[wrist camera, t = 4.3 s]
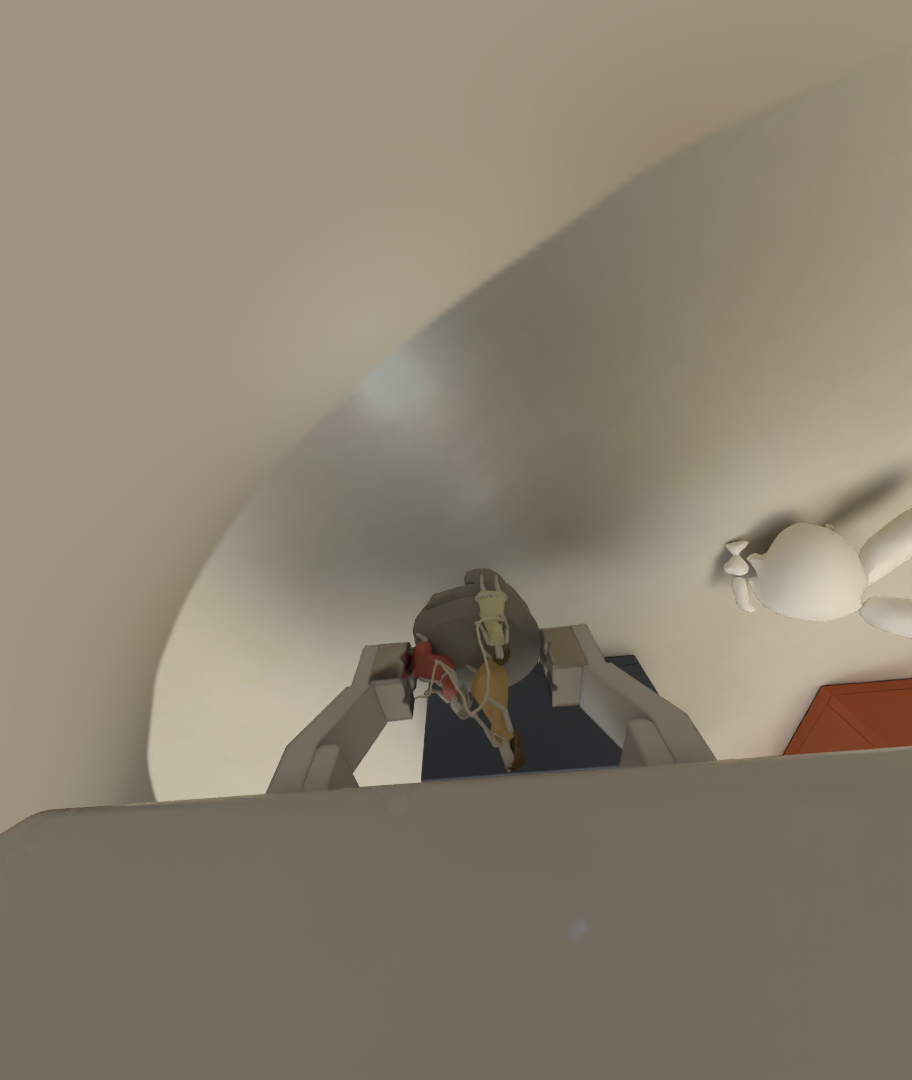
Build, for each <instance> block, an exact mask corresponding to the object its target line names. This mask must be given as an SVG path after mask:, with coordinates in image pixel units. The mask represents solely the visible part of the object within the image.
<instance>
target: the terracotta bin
mask: <svg viewBox="0 0 912 1080" xmlns="http://www.w3.org/2000/svg"><path fill="white" fill-rule="evenodd" d="M904 746H912V679H905V680H893V681H881V682H869V683H857V684H844V685H832V686H822V687H821V689H820V691H819V693H818V695H817V696H816V698H815V700H814V702H813V703H812V705H811V707H810V709H809V711H808V712H807V714H806V716H805V718H804V719H803V721H802V723H801V725H800V726H799V728H798V730H797V732H796V734H795V735H794V737H793V739H792V741H791V742H790V744H789V746H788V748H787V750H786V751H785V753H784V755H797V754H810V753H823V752H837V751H850V750H864V749H877V748H890V747H904Z"/></svg>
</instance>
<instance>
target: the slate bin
mask: <svg viewBox="0 0 912 1080" xmlns="http://www.w3.org/2000/svg"><path fill="white" fill-rule="evenodd" d="M604 659H605V661H606V663H613V664H614V665H615V666H617V667H618V668H620V669H621V670H623V671H624V672H626V673H627V674H629V675H630V676H632V677H633V678H635V679H636V680H638V681H639V682H640V683H642V684H643V685H645V686H646V687H648V688H649V689H651V690H652V691H654V692H655V693H657V694H658V692H657V691H656V689H655V687H654V686H653V684H652V683H651V681H650V680H649V678H648V676H647V675H646V673H645V672H644V670H643V668H642V667H641V665H640V664H639V662H638V660H637V659H636V657H635V656H634V655H633V656H622V657H611V658H604ZM430 684H431V682H429V688H428V689H430ZM432 689H437V690H440V691H442V688H441V687H440V686H438V685H437V684H435V683H434V682H433V685H432ZM468 693H469V697H470V698H471V699H470V702H471V701H472V705H471V707H470V709H471V712H472V711H474V710H476V709H477V708H478V707H479V706H480V705H479V704H478V702H477V701H476V699H475V698H474V696H473V695H472V693H471V692H468ZM658 695H659V694H658ZM507 710H508V713H509V716H510V720H511V723H512V727H513V734H514V727H515V729H516V733H517V737H518V729H519V734H521V732H522V737H523V738H521V746H522V740H523V756H524V754H525V752H526V756H525V759H526V758H527V759H526V760H524V761H525V762H524V764H523V765H522V766H521V767H520V768H519V769H518V770H517V771H516V772H512V771H510V772H507V770H506V768H505V766H504V765H505V764H504V761H503V760H502V759H503V758H502V756H501V753H500V749H499V748H498V747H493V745H492V744H491V742H490V740H489V739H488V737H487V735H486V733H485V732H484V728H483V727H482V726H481V725H480V724H479V723H478V722H477V721H476V719H475V718H472V717H470V716H469V717H468V718H467V719H464V720H463V719H461V718H459V717H458V716H457V714H456V713H455V712H454V711H453V709H452V708H451V705H450V703H446V702H445V701H444V700H443V699H442V698H441V697H440V696H439V695H438V694H437V693H431V694H430V695H429V696H428V700H427V712H426V724H425V737H424V749H423V761H422V774H421V781H422V782H434V781H448V780H461V779H474V778H488V777H501V776H514V775H528V774H541V773H555V772H568V771H581V770H595V769H608V768H619V765H620V760H621V755H622V749H621V748H620V747H619V746H618V745H617V744H616V743H615V742H614V741H613V740H612V739H611V738H610V737H609V736H608V735H607V734H606V733H605V732H604V731H603V730H602V729H601V728H600V727H599V726H598V725H597V724H596V723H595V722H594V721H593V720H592V719H591V718H590V717H589V716H588V714H587V713H586V712H585V711H584V710H583V709H582V708H581V707H580V705H578V706H560V707H552V704H551V700H550V697H549V693H548V690H547V679H546V678H545V677H544V676H543V672H542V668H541V664H536V665H535V666H534V668H533V669H532V670H531V672H530V673H529V674H528V675H527V676H526V677H524V678H523V679H522V680H520V681H519V682H517V683H515V684H513V685H511V686H509V687H508V707H507ZM476 714H478V717H479V718H480V719H481V720H482V721H483V722H484V724H485V725H486V727H487V728H489V730H490V731H491V725H492V724H491V722H490V721H489V719H488V718H487V716H486V715H485V713H484V711H483V710H482V708H481V709H480V710H479V711H478V712H477V713H476ZM513 724H514V726H513ZM520 737H521V735H520ZM526 749H527V751H526ZM512 750H513V749H512ZM523 756H522V757H523Z"/></svg>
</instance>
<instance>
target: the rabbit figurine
mask: <svg viewBox="0 0 912 1080" xmlns="http://www.w3.org/2000/svg"><path fill="white" fill-rule="evenodd" d="M834 528H835V526H832V525H829V524H825V527H822V526H819V525H816V524H810V523H797V524H794V525H792V526H789V527H787V528H786V529H784V530H783V531H782V532H780V533H779V534H778V536H777V537H776V538H775V540H774V541H773V542H772V544H771V546H770V548H769V550H768V551H767V553H765V554H763V555H760V554H757V553H754V554H751V555H750V556H749V557H748V558H747V559H746V560H748V561H749V562H750V563H751V564H752V566H753V567H754V568H755V570H756V573H757V576H756V577H751V578H750V579H749V582H750V584H751V585H752V587H753V590H754V593H755V595H756V597H757V599H758V600H759V601H760V603H761V604H762V605H763V606H764V607H765V608H767V609H769V610H771V611H773V612H774V613H776V614H779V615H783V616H787V617H790V618H794V619H800V620H809V621H830V620H835V619H840V618H843V617H844V616H846V615H848V614H851V613H853V612H855V611H857V610H859V615H860V616H861V617H862V618H863V619H864V620H865V621H866V622H867V623H869V624H870V625H872V626H873V627H876V628H879V629H881V630H883V631H886V632H889V633H893V634H896V635H900V636H903V637H907V638H911V639H912V600H909V599H902V598H891V597H879V596H875V597H872V598H868V600H867V601H866V602H864V603H862V601H861V599H860V597H861V595H862V593H863V592H864V589H865V588H867V587H868V586H870V585H872V584H873V583H874V582H876V581H877V580H879V579H881V578H883V577H884V576H886V575H887V574H888V573H890V572H891V571H892V570H894V569H895V568H896V567H898V566H899V565H901V564H902V563H903V562H905V561H907V560H908V559H910V558H911V557H912V508H911V509H909V510H907V511H905V512H904V513H902V514H900V515H899V516H898V517H896V518H895V519H893V520H892V521H890V522H889V523H888V524H886V525H885V526H884V527H882V528H881V529H880V530H879V531H878V532H876V533H875V534H874V535H873V536H872V537H871V538H870V539H868V541H867V542H866V543H865V545H864V546H863V547H862V548H861V550H860V554H859V557H858V555H857V553H856V551H855V550H854V549H853V548H852V547H851V545H850V544H849V543H848V542H847V541H846V540H845V539H844V538H843V537H841V536H840V535H839V534H837V533H835V532H833V530H834ZM748 543H749V542H747V541H738V542H732V543H728V544H726V545H725V547H726V548H727V549H728V550H729V551H730V552H731V553H732V554H733V556H732V557H731V559H730V560H729V561H728V562H727V563H726V564H725V565H724V570H725V572H727V573H730V574H734V575H738V576H742V575H745V574H746V573H747V572H748V568H749V567H748V565H747V563H746V562H745V561H744V560H743V559H742V558H741V556H740V554H739V553H740V552H741V551H742V550H743V549H744V548H745V547H746V546H747V544H748ZM732 587H733V592H734V595H735V600H736V604H737V605H738V606H739V607H740V608H741V609H742V610H746V611H748V612H754V611H756V610H755V608H753V607H752V606H751V604H750V600H749V596H748V591H747V584H746V581H745V579H744V578H742V577H736V578H735V579H734V580H733V581H732Z"/></svg>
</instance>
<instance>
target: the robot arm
mask: <svg viewBox="0 0 912 1080" xmlns="http://www.w3.org/2000/svg"><path fill="white" fill-rule="evenodd" d="M539 640H540V643H541V646H542V647H541V648H540V656H539V657H540V664H541V668H542V672H543V676H544V677H545V678H546V679H547V690H548V693H549V697H550V700H551V704H552V707H560V706H578V705H580V707H581V708H582V709H583V710H584V711H585V712H586V713H587V714H588V716H589V717H590V718H591V719H592V720H593V721H594V722H595V723H596V724H597V725H598V726H599V727H600V728H601V729H602V730H603V731H604V732H605V733H606V734H607V735H608V736H609V737H610V738H611V739H612V740H613V741H614V742H615V743H616V744H617V745H618V746H619V747H620V748H621V749H622V755H621V760H620V765H619V768H608V769H595V770H581V771H568V772H555V773H541V774H528V775H514V776H501V777H488V778H474V779H461V780H448V781H434V782H421V783H408V784H394V785H381V786H367V787H359V785H358V783H357V781H356V779H355V777H354V775H353V772H354V771H355V769H356V768H357V766H358V765H359V763H360V762H361V760H362V759H363V758H364V756H365V755H366V753H367V752H368V750H369V749H370V747H371V746H372V744H373V743H374V741H375V740H376V739H377V737H378V736H379V734H380V733H381V731H382V730H383V728H384V727H385V725H386V724H387V723H386V722H389V721H398V720H407V719H412V718H413V710H414V701H415V699H414V696H413V691H414V690H415V689H416V683H417V678H416V677H412V672H411V654H412V648H411V645H410V643H409V642H403V643H389V644H380V645H366V646H365V647H364V649H363V650H362V654H361V657H360V660H359V663H358V666H357V669H356V672H355V676H354V679H353V682H352V685H351V686H350V687H346V688H345V689H344V690H343V691H342V692H341V693H340V694H339V695H338V696H337V697H336V698H335V699H334V700H333V701H332V702H331V703H330V704H329V705H328V706H327V707H326V708H325V709H324V710H323V711H322V712H321V713H320V714H319V715H318V716H317V717H316V718H315V719H314V720H313V721H312V722H311V723H310V724H309V725H308V726H307V727H306V728H304V729H303V730H302V731H301V732H300V733H299V734H298V735H297V736H296V737H295V738H294V739H293V740H292V741H291V742H290V743H289V744H288V745H287V746H286V748H285V751H284V753H283V755H282V757H281V760H280V762H279V764H278V767H277V769H276V771H275V773H274V776H273V778H272V780H271V782H270V785H269V787H268V789H267V792H266V794H259V795H245V796H232V797H218V798H204V799H191V800H177V801H164V802H150V803H137V804H123V805H110V806H97V807H83V808H65V809H53V810H46V811H42V812H39V813H36V814H34V815H32V816H29V817H27V818H26V819H24V820H23V821H21V822H19V823H17V824H16V825H14V826H13V827H11V828H9V829H8V830H6V831H5V832H3V833H1V834H0V1080H912V746H904V747H890V748H877V749H864V750H850V751H837V752H823V753H810V754H797V755H783V756H770V757H756V758H743V759H729V760H717V759H716V758H715V756H714V755H713V753H712V751H711V750H710V748H709V747H708V745H707V744H706V742H705V741H704V739H703V738H702V736H701V735H700V733H699V732H698V730H697V729H696V727H695V726H694V724H693V723H692V721H691V720H690V718H689V717H688V715H687V714H686V713H684V712H683V711H682V710H680V709H679V708H677V707H676V706H674V705H673V704H671V703H670V702H668V701H667V700H665V699H664V698H662V697H661V696H660V695H658V694H657V693H655V692H654V691H652V690H651V689H649V688H648V687H646V686H645V685H643V684H642V683H640V682H639V681H638V680H636V679H635V678H633V677H632V676H630V675H629V674H627V673H626V672H624V671H623V670H621V669H620V668H618V667H617V666H615V665H614V664H613V663H606V661H605V659H604V657H603V655H602V653H601V651H600V649H599V647H598V645H597V644H596V642H595V640H594V638H593V636H592V634H591V632H590V630H589V628H588V626H587V625H586V624H580V625H571V626H562V627H553V628H543V629H539Z"/></svg>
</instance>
